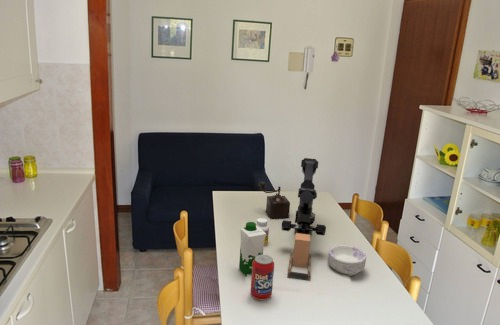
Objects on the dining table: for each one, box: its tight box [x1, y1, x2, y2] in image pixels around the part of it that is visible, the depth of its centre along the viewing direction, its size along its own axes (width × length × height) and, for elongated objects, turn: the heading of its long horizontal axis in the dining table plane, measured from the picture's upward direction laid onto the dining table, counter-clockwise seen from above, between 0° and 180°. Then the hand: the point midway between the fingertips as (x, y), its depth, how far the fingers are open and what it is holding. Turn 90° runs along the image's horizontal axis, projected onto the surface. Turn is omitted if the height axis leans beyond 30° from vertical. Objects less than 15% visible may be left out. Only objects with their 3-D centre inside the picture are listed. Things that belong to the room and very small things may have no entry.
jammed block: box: [291, 233, 311, 269], centre depth 171 cm, size 6×6×12 cm
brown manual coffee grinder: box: [258, 181, 291, 220], centre depth 220 cm, size 16×11×18 cm
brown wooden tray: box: [286, 251, 312, 282], centre depth 169 cm, size 18×9×4 cm, turn 171°
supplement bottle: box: [256, 217, 270, 247], centre depth 186 cm, size 7×7×13 cm
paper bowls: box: [327, 244, 367, 277], centre depth 171 cm, size 15×15×8 cm
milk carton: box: [238, 221, 266, 277], centre depth 164 cm, size 9×9×20 cm
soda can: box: [250, 254, 275, 301], centre depth 149 cm, size 8×8×15 cm
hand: (301, 246), depth 174 cm, fingers closed, pressing on jammed block
